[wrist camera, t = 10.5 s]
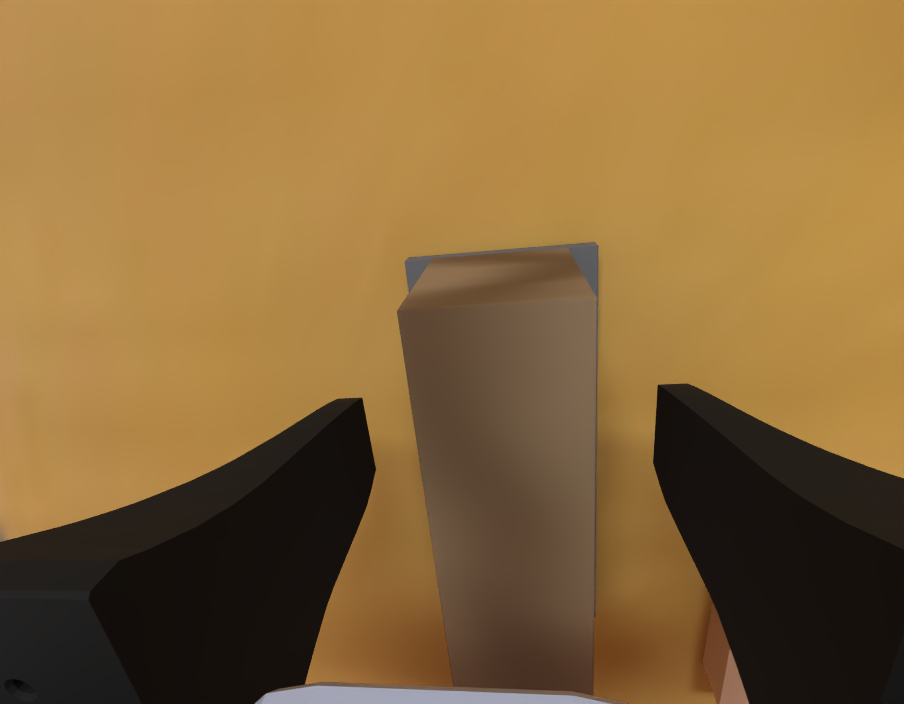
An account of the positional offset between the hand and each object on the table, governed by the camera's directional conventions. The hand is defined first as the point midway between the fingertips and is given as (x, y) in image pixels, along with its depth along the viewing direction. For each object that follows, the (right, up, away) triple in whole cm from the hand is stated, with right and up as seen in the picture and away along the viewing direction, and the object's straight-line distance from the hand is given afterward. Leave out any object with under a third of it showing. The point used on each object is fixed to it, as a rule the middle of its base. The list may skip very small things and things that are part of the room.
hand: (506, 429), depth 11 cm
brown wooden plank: (+1, -1, +4) cm, 4 cm away
